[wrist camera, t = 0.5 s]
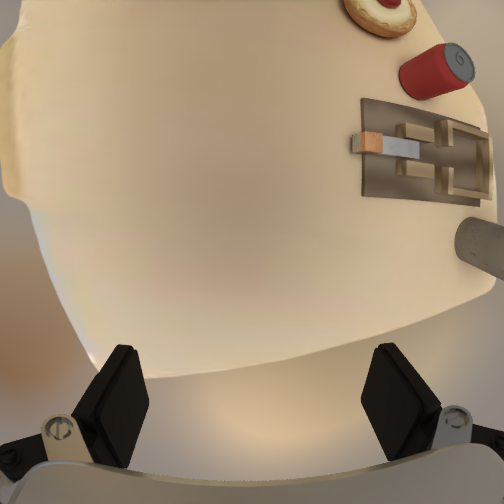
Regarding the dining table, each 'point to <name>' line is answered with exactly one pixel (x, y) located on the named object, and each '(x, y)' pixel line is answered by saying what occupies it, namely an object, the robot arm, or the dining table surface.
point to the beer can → (437, 71)
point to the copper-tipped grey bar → (384, 145)
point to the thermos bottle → (481, 245)
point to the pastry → (383, 16)
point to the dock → (427, 157)
